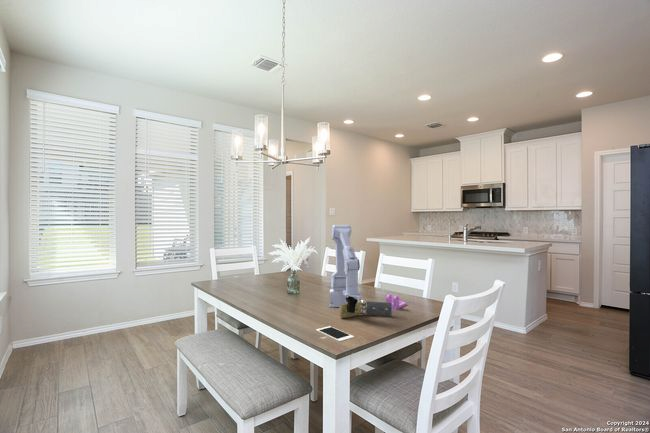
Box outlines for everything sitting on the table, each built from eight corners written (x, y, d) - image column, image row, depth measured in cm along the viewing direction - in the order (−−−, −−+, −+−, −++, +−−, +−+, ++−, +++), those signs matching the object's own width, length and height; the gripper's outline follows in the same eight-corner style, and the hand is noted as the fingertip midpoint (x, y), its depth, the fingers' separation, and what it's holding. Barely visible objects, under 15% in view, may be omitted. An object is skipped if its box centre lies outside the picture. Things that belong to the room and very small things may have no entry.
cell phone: (339, 342, 124) (339, 340, 124) (315, 330, 137) (315, 329, 137) (354, 338, 129) (354, 336, 129) (329, 327, 141) (329, 325, 141)
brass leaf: (364, 312, 160) (364, 300, 161) (366, 313, 158) (366, 301, 158) (339, 317, 153) (339, 304, 153) (341, 318, 151) (341, 305, 151)
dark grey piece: (360, 314, 158) (360, 300, 158) (361, 313, 160) (361, 299, 160) (391, 316, 155) (391, 302, 155) (391, 315, 157) (391, 301, 157)
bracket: (395, 310, 167) (395, 296, 167) (386, 308, 170) (386, 294, 170) (407, 304, 177) (407, 292, 177) (397, 303, 180) (397, 290, 180)
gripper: (337, 282, 158) (337, 309, 158) (352, 287, 145) (353, 317, 145) (349, 280, 161) (349, 308, 161) (365, 286, 148) (366, 315, 148)
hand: (352, 312), depth 153 cm, fingers closed
